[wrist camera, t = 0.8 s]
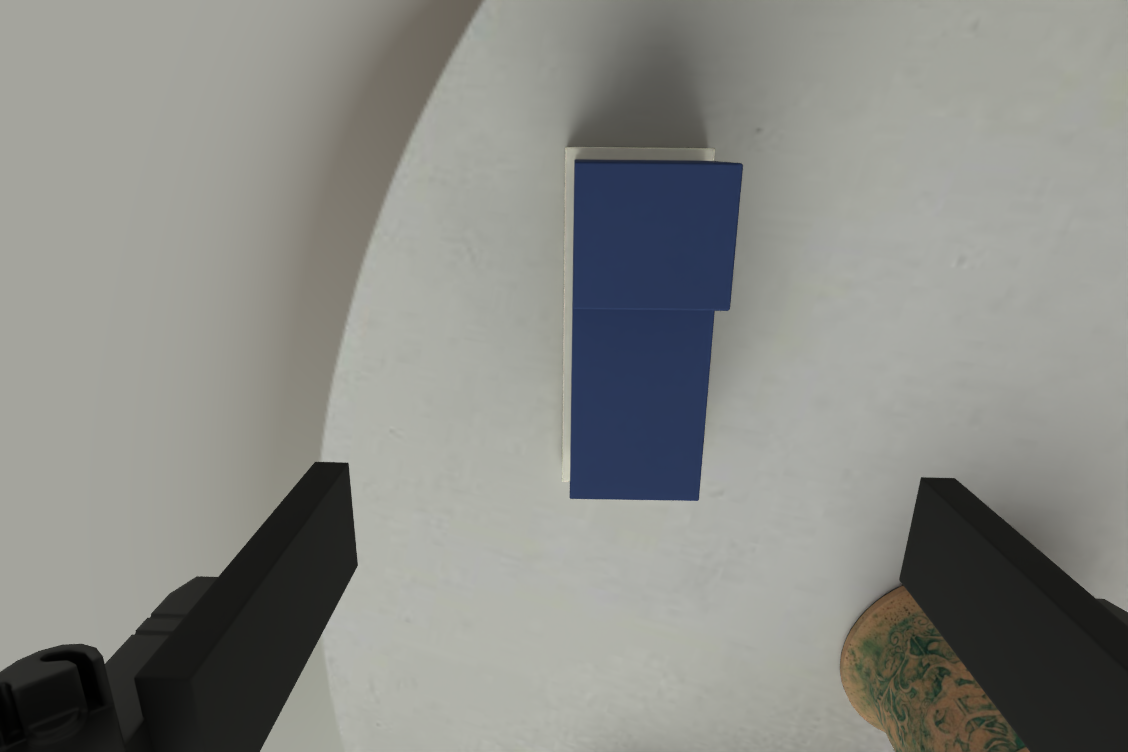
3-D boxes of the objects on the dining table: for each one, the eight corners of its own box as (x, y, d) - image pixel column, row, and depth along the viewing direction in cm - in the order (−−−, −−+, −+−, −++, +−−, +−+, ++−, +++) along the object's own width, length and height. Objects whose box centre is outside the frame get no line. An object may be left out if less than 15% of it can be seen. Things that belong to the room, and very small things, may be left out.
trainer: (565, 147, 30) (562, 145, 22) (708, 148, 30) (757, 147, 22) (562, 467, 35) (559, 562, 27) (684, 469, 35) (717, 564, 27)
